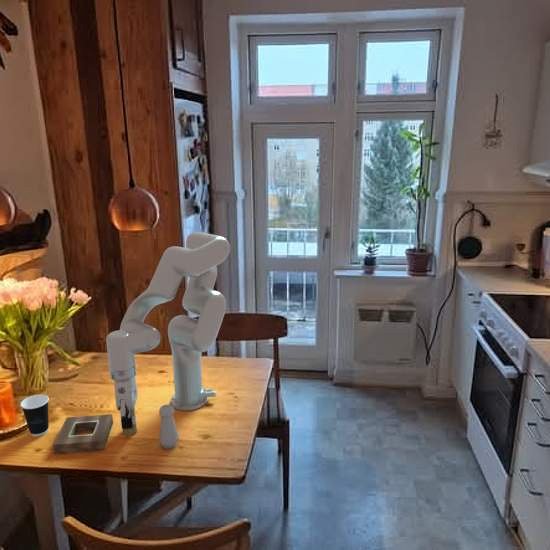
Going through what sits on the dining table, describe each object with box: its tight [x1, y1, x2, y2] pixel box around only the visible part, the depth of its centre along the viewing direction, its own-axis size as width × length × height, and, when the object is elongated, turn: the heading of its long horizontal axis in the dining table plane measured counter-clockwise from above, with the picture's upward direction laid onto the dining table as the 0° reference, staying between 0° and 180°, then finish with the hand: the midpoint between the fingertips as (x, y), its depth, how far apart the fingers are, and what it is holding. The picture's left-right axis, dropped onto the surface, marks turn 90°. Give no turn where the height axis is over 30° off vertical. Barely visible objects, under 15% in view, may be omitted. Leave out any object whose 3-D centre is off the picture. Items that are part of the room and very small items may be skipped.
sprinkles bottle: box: [119, 406, 138, 437], centre depth 148 cm, size 5×5×14 cm
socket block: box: [52, 413, 114, 455], centre depth 146 cm, size 14×14×3 cm
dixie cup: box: [19, 394, 50, 438], centre depth 148 cm, size 8×8×11 cm
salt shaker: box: [158, 404, 179, 450], centre depth 142 cm, size 6×6×13 cm
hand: (128, 422), depth 149 cm, fingers closed on sprinkles bottle, 4 cm apart
